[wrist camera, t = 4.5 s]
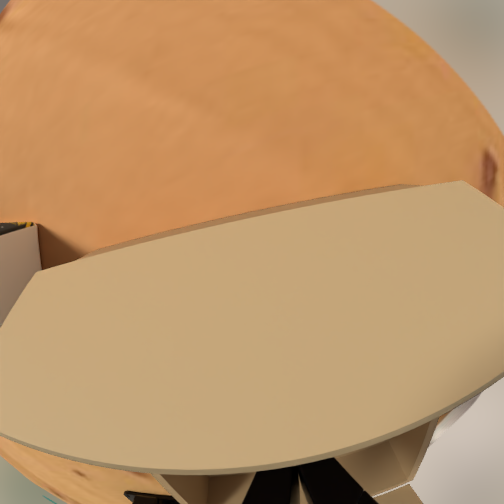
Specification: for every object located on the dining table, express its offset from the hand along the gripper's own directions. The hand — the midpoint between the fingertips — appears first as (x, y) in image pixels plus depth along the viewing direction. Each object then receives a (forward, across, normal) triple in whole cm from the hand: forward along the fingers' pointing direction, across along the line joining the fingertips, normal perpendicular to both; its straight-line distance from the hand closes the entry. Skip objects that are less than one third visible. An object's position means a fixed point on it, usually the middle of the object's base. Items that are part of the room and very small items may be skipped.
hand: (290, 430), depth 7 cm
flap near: (-1, 0, -5) cm, 5 cm away
